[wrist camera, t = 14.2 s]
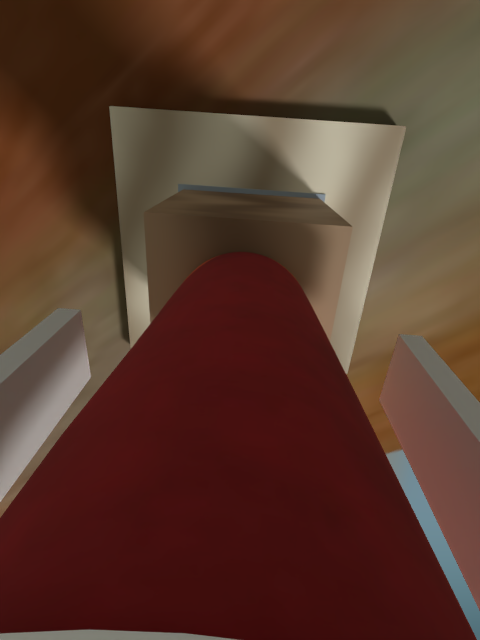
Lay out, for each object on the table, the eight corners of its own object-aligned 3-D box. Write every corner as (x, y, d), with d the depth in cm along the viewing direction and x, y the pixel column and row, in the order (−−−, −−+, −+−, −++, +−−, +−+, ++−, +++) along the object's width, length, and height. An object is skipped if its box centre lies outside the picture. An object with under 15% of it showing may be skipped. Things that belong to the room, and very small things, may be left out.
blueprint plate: (398, 127, 20) (407, 126, 19) (343, 364, 27) (347, 374, 26) (117, 108, 20) (108, 105, 19) (136, 348, 27) (130, 357, 26)
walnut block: (319, 198, 21) (352, 226, 13) (301, 321, 24) (319, 395, 17) (183, 189, 21) (143, 212, 13) (184, 312, 24) (153, 382, 17)
